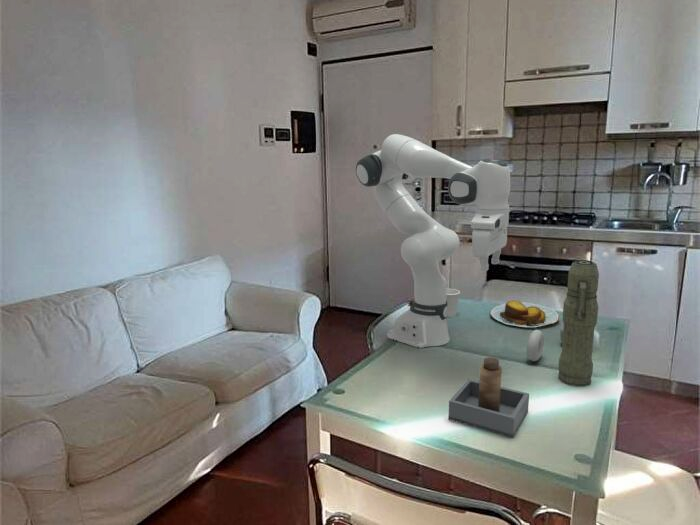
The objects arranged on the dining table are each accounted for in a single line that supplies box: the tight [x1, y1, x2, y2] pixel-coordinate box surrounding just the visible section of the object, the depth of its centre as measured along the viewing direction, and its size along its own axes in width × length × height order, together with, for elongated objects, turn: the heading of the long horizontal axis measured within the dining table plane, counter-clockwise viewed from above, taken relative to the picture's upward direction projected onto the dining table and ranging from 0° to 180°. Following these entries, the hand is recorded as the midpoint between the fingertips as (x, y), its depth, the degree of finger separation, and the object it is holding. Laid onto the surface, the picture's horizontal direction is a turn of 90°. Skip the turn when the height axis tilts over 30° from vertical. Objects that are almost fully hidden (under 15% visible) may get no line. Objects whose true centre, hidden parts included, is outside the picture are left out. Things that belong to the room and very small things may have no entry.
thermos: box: [557, 259, 600, 387], centre depth 140 cm, size 9×12×35 cm
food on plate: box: [489, 300, 560, 328], centre depth 194 cm, size 25×25×7 cm
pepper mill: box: [478, 357, 503, 412], centre depth 124 cm, size 5×5×14 cm
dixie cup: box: [446, 288, 461, 318], centre depth 200 cm, size 8×8×10 cm
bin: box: [448, 378, 530, 439], centre depth 125 cm, size 16×14×5 cm
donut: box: [526, 329, 545, 362], centre depth 156 cm, size 10×4×10 cm, turn 145°
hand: (489, 267), depth 140 cm, fingers open, 8 cm apart
